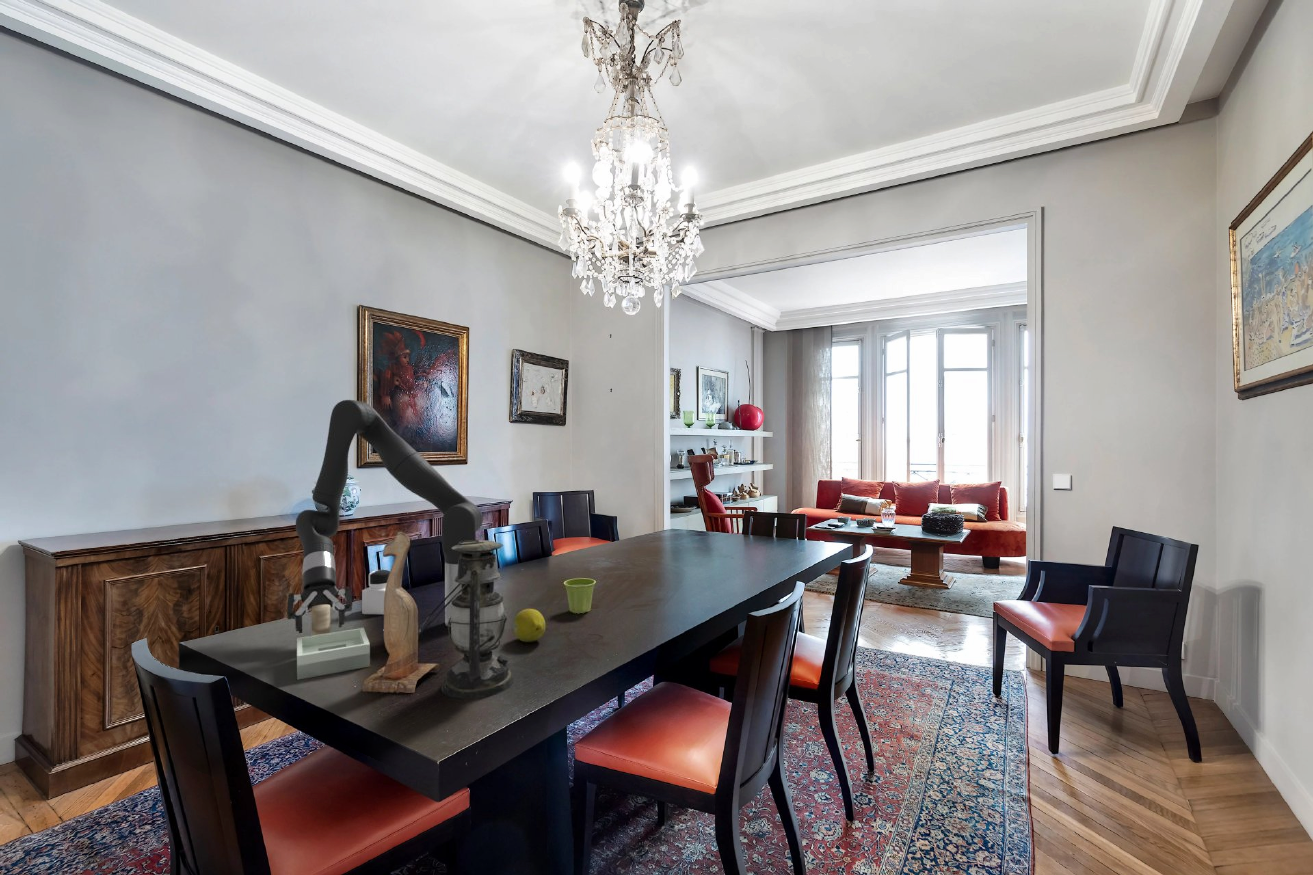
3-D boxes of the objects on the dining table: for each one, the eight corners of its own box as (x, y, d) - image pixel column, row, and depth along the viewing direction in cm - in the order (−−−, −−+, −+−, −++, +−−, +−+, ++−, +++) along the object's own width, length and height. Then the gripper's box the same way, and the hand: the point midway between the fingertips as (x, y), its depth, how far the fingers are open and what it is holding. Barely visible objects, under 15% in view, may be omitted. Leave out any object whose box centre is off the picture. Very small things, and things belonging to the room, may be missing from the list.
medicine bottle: (397, 607, 180) (397, 568, 180) (384, 614, 173) (384, 573, 173) (375, 607, 181) (375, 568, 181) (361, 614, 174) (361, 573, 174)
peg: (333, 644, 148) (333, 604, 148) (325, 649, 144) (325, 608, 144) (316, 644, 148) (316, 604, 148) (308, 650, 144) (308, 609, 144)
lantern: (512, 699, 115) (511, 546, 115) (408, 709, 111) (408, 550, 112) (514, 664, 134) (514, 532, 134) (425, 671, 130) (425, 535, 130)
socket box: (363, 647, 145) (363, 627, 145) (369, 666, 133) (369, 644, 133) (296, 659, 138) (296, 637, 138) (297, 679, 126) (297, 656, 126)
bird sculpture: (388, 672, 130) (383, 528, 130) (440, 671, 130) (435, 526, 130) (361, 694, 119) (355, 536, 119) (418, 693, 119) (412, 534, 119)
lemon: (510, 636, 153) (510, 605, 153) (541, 633, 155) (541, 602, 156) (516, 650, 143) (516, 617, 143) (549, 646, 145) (548, 613, 145)
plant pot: (593, 615, 171) (593, 585, 171) (561, 615, 171) (561, 585, 171) (597, 606, 180) (597, 578, 180) (566, 606, 180) (566, 578, 180)
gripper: (287, 567, 149) (286, 625, 139) (350, 561, 156) (354, 616, 146) (287, 584, 153) (286, 641, 143) (349, 577, 161) (352, 631, 151)
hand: (320, 628), depth 145 cm, fingers open, 8 cm apart
